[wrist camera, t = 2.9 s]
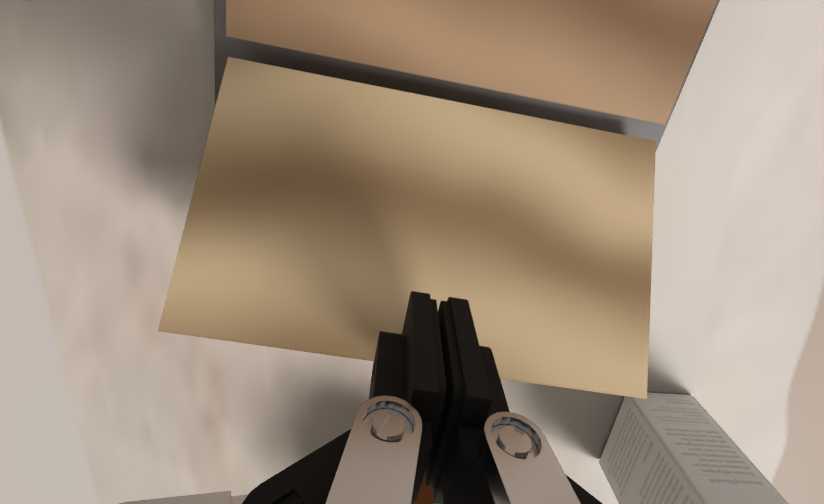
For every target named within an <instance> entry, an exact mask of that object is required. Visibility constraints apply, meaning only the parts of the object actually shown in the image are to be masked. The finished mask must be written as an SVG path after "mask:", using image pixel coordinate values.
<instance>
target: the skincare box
mask: <svg viewBox="0 0 824 504" xmlns="http://www.w3.org/2000/svg"><path fill="white" fill-rule="evenodd" d="M599 463H600V466H601V468H602V470H603V472H604V474H605V476H606V478H607V480H608V482H609V484H610V486H611V488H612V490H613V492H614V494H615V496H616V498H617V500H618V502H619V504H788V503H787V502H786V500H785V499H784V498H783V497H782V496H781V495H780V494H779V493H778V491H777V490H776V489H775V488H774V487H773V486H772V484H771V483H770V482H769V481H768V480H767V479H766V478H765V477H764V475H763V474H762V473H761V472H760V471H759V470H758V469H757V468H756V466H755V465H754V464H753V463H752V462H751V461H750V460H749V459H748V457H747V456H746V455H745V454H744V453H743V452H742V451H741V449H740V448H739V447H738V446H737V445H736V444H735V443H734V442H733V441H732V439H731V438H730V437H729V436H728V435H727V434H726V433H725V431H724V430H723V429H722V428H721V427H720V426H719V425H718V424H717V422H716V421H715V420H714V419H713V418H712V417H711V416H710V415H709V413H708V412H707V411H706V410H705V409H704V408H703V407H702V406H701V404H700V403H699V402H698V401H697V400H696V399H695V398H694V397H693V396H691V395H684V394H666V393H650V392H647V399H642V398H635V397H628V396H625V397H624V400H623V403H622V405H621V408H620V410H619V413H618V415H617V418H616V420H615V423H614V425H613V428H612V431H611V433H610V436H609V438H608V441H607V443H606V446H605V448H604V451H603V453H602V456H601V458H600V460H599Z"/></svg>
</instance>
